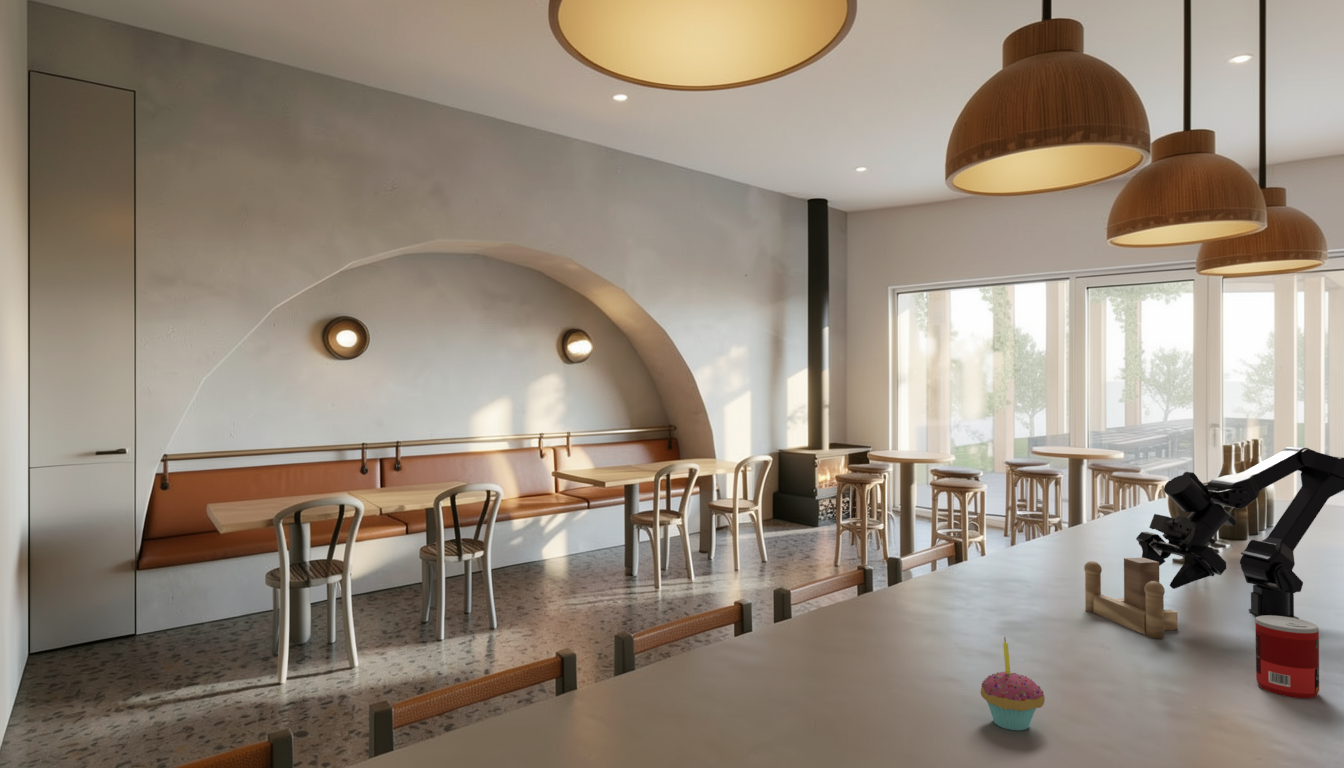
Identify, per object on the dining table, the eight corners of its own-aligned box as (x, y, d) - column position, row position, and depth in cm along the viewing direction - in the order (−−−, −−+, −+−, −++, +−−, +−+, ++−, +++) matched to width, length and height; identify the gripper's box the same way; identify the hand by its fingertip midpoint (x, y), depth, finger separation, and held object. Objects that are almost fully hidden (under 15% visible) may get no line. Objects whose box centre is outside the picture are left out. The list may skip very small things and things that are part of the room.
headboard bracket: (1120, 607, 171) (1120, 558, 171) (1198, 637, 150) (1197, 582, 150) (1081, 608, 170) (1080, 559, 170) (1153, 639, 149) (1153, 583, 149)
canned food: (1330, 701, 119) (1330, 630, 119) (1272, 697, 121) (1271, 627, 121) (1301, 683, 127) (1300, 616, 127) (1246, 679, 128) (1245, 613, 128)
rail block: (1143, 618, 163) (1143, 557, 163) (1160, 625, 158) (1160, 562, 158) (1123, 619, 162) (1123, 558, 162) (1139, 626, 158) (1139, 562, 158)
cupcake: (970, 712, 115) (969, 632, 115) (1024, 710, 116) (1023, 631, 116) (999, 738, 107) (998, 652, 107) (1057, 735, 107) (1056, 650, 108)
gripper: (1142, 495, 171) (1098, 547, 169) (1211, 507, 152) (1163, 566, 151) (1175, 528, 172) (1132, 580, 170) (1248, 545, 153) (1200, 603, 152)
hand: (1154, 581), depth 161 cm, fingers open, 9 cm apart
